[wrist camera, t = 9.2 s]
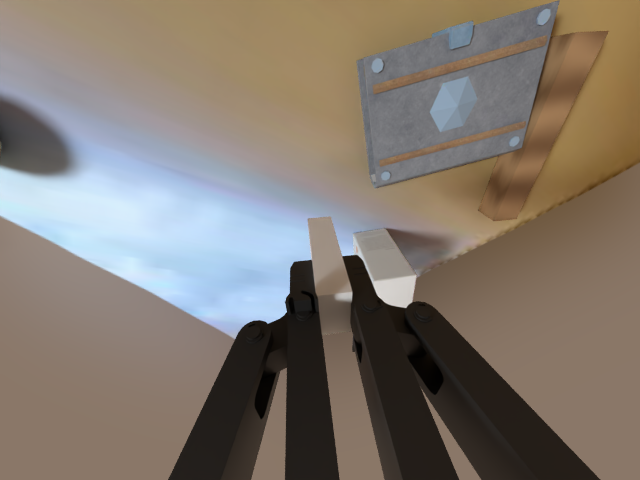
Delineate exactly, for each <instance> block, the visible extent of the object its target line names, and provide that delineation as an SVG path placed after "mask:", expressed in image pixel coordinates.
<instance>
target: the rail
mask: <svg viewBox="0 0 640 480" xmlns="http://www.w3.org/2000/svg"><path fill="white" fill-rule="evenodd" d="M608 32H609V31H596V32H576V33H570V34H565V35H560V36H555V37H550V40H549V44H548V48H547V51H546V55H545V59H544V63H543V67H542V71H541V75H540V79H539V83H538V86H537V90H536V94H535V98H534V102H533V106H532V110H531V114H530V118H529V121H528V125H527V129H526V133H525V137H524V141H523V145H522V148H520V149H518V150H516V151H514V152H511V153H507V154H503V155H500V156H499V157H498V160H497V162H496V165H495V168H494V170H493V173H492V175H491V178H490V181H489V183H488V186H487V189H486V191H485V194H484V197H483V199H482V202H481V205H480V207H479V210H478V211H480V212H481V213H483V214H484V215H486V216H487V217H489V218H490V219H492V220H493V221H501V220H511V219H517V217H518V215H519V213H520V211H521V208H522V206H523V204H524V202H525V200H526V198H527V196H528V194H529V192H530V190H531V188H532V186H533V184H534V182H535V180H536V178H537V176H538V174H539V172H540V170H541V168H542V166H543V164H544V162H545V160H546V158H547V156H548V154H549V152H550V150H551V148H552V146H553V144H554V142H555V140H556V138H557V135H558V133H559V131H560V129H561V127H562V125H563V123H564V121H565V119H566V117H567V115H568V113H569V111H570V109H571V107H572V105H573V103H574V101H575V99H576V97H577V95H578V93H579V91H580V89H581V87H582V85H583V83H584V81H585V79H586V77H587V75H588V73H589V71H590V69H591V67H592V64H593V62H594V60H595V58H596V56H597V54H598V52H599V50H600V48H601V46H602V44H603V42H604V40H605V38H606V36H607V34H608Z"/></svg>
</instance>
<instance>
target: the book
mask: <svg viewBox="0 0 640 480" xmlns="http://www.w3.org/2000/svg"><path fill="white" fill-rule="evenodd" d="M559 1H560V0H559ZM559 1H555V2H552V3H548V4H545V5H542V6H538V7H535V8H531V9H528V10H525V11H521V12H518V13H514V14H511V15H508V16H504V17H501V18H497V19H494V20H491V21H487V22H484V23H480V24H477V25H474V26H473V21H470V22H466V23H463V24H460V25H456V26H453V27H450V28H447V29H444V30H442V31H439V32H436V33H434V34H432V38H429V39H426V40H423V41H419V42H416V43H412V44H409V45H406V46H402V47H399V48H395V49H392V50H389V51H385V52H382V53H378V54H375V55H372V56H368V57H365V58H364V59H361V60H357V69H358V78H359V86H360V95H361V104H362V112H363V121H364V130H365V138H366V147H367V155H368V164H369V173H370V179H371V182H372V184H373V186H374V188H379V187H382V186H386V185H390V184H394V183H398V182H401V181H405V180H409V179H413V178H416V177H420V176H424V175H428V174H432V173H435V172H439V171H443V170H447V169H450V168H454V167H458V166H462V165H466V164H469V163H473V162H477V161H481V160H484V159H488V158H492V157H496V156H500V155H503V154H507V153H511V152H514V151H516V150H518V149H520V148H522V145H523V141H524V137H525V133H526V129H527V125H528V121H529V118H530V114H531V110H532V106H533V102H534V98H535V94H536V90H537V86H538V83H539V79H540V75H541V71H542V67H543V63H544V59H545V55H546V51H547V48H548V44H549V40H550V36H551V32H552V28H553V24H554V20H555V16H556V13H557V9H558V5H559Z"/></svg>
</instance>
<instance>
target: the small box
mask: <svg viewBox="0 0 640 480" xmlns="http://www.w3.org/2000/svg"><path fill="white" fill-rule="evenodd" d="M353 250H354V255H358V256H359V257H360V258H361V259H362V260H363V261H364V264H365V266H366V269H367V271H368V274H369V276H370V279H371V281H372V284H373V286H374V289H375V291H376V294H377V295H378V297H379V298H381V299H382V300H383V301H384V302H385V303H387V304H389V305H392V306H397V307H403V308H407V306H408V305H409V304H410V303H412V302H413V295H414V290H415V283H416V278H417V274H416V273H415V272H414V270H413V269H412V267H411V266H410V264H409V263H408V261H407V260H406V258H405V257H404V255H403V254H402V252H401V251H400V249H399V248H398V246H397V245H396V243H395V242H394V240H393V239H392V237H391V236H390V234H389V233H388V231H387V230H386V229H385V228H383V229H377V230H371V231H364V232H358V233H353Z"/></svg>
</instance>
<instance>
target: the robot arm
mask: <svg viewBox="0 0 640 480" xmlns="http://www.w3.org/2000/svg"><path fill="white" fill-rule="evenodd" d="M308 228H309V239H310V250H311V260H308V261H298V262H294V263H293V265H292V266H291V268H290V294H289V295H288V296H287V298H286V301H285V304H286V309H287V313H286V314H285V315H284V316H283V317H282V318H280V319H278V320H276V321H274V322H271V323H269V324H267V323H266V322H264V321H261V320H258V321H252V322H250V323H247V324H246V325H245V326H244V327H242V329H241V330H240V331H239V333H238V335H237V337H236V339H235V341H234V343H233V345H232V347H231V350H230V352H229V354H228V356H227V358H226V360H225V362H224V364H223V366H222V368H221V370H220V372H219V375H218V377H217V379H216V381H215V383H214V385H213V387H212V389H211V392H210V393H209V395H208V398H207V400H206V402H205V404H204V406H203V408H202V410H201V412H200V414H199V416H198V418H197V421H196V423H195V425H194V427H193V429H192V431H191V433H190V435H189V437H188V439H187V442H186V444H185V446H184V448H183V450H182V452H181V454H180V456H179V459H178V460H177V463H176V465H175V467H174V469H173V471H172V473H171V475H170V477H169V479H168V480H251V477H252V474H253V470H254V466H255V462H256V459H257V455H258V451H259V447H260V444H261V440H262V437H263V433H264V429H265V425H266V422H267V418H268V414H269V411H270V407H271V403H272V400H273V396H274V392H275V389H276V385H277V381H278V377H279V374H280V371H281V370H283V369H285V368H287V398H286V458H285V480H339V472H338V463H337V455H336V447H335V439H334V431H333V423H332V415H331V406H330V397H329V389H328V381H327V373H326V365H325V356H324V348H323V339H322V335H326V334H333V333H342V332H350V331H351V328H352V332H353V347H352V350H353V352H355V353H356V357H357V362H358V366H359V371H360V375H361V379H362V383H363V387H364V392H365V397H366V401H367V405H368V409H369V414H370V418H371V423H372V427H373V431H374V435H375V440H376V444H377V448H378V453H379V457H380V461H381V466H382V470H383V474H384V479H385V480H459V478H458V476H457V474H456V471H455V469H454V466H453V464H452V462H451V459H450V457H449V454H448V452H447V450H446V447H445V445H444V442H443V440H442V438H441V435H440V433H439V431H438V428H437V426H436V424H435V421H434V419H433V416H432V414H431V412H430V409H429V407H428V405H427V402H426V400H425V398H424V395H423V393H422V390H423V392H424V393H425V394H426V396H427V398H428V399H429V401H430V402H431V404H432V405H433V407H434V408H435V410H436V411H437V413H438V414H439V416H440V417H441V419H442V420H443V422H444V423H445V425H446V426H447V428H448V429H449V431H450V433H451V434H452V435H453V437H454V439H455V440H456V442H457V443H458V445H459V446H460V448H461V449H462V450H463V452H464V454H465V455H466V457H467V458H468V460H469V461H470V463H471V464H472V466H473V467H474V469H475V470H476V472H477V474H478V475H479V477H480V478H481V480H600V479H599V478H598V477H597V476H596V475H595V474H594V473H593V472H592V471H591V470H590V469H589V467H588V466H586V464H585V463H584V462H583V461H582V460H581V459H580V458H579V457H578V456H577V455H576V454H575V453H574V452H573V451H572V450H571V449H570V448H569V447H568V446H567V445H566V444H565V443H564V442H563V441H562V439H561V438H560V437H559V436H558V435H557V434H556V433H555V432H554V431H553V430H552V429H551V428H550V427H549V426H548V425H547V424H546V423H545V422H544V421H543V420H542V419H541V418H540V417H539V416H538V415H537V414H536V412H535V411H534V410H533V409H532V408H531V407H530V406H529V405H528V404H527V403H526V402H525V401H524V400H523V399H522V398H521V397H520V396H519V395H518V394H517V393H516V392H515V391H514V390H513V389H512V388H511V387H510V385H509V384H508V383H507V382H506V381H505V380H504V379H503V378H502V377H501V376H500V375H499V374H498V373H497V372H496V371H495V370H494V369H493V368H492V367H491V366H490V365H489V364H488V363H487V362H486V361H485V359H484V358H482V356H481V355H480V354H479V353H478V352H477V351H476V350H475V349H474V348H473V347H472V346H471V345H470V344H469V343H468V342H467V341H466V340H465V339H464V338H463V337H462V336H461V335H460V334H459V333H458V331H457V330H456V329H455V328H454V327H453V326H452V325H451V324H450V323H449V322H448V321H447V320H446V319H445V318H444V317H443V316H442V315H441V314H440V313H439V312H438V311H437V310H436V309H435V308H434V307H433V306H431V305H429V304H427V303H425V302H419V301H418V302H412V303H410V304H409V305H408V306H407V308H403V307H397V306H392V305H389V304H387V303H385V302H384V301H383V300H382V299H381V298H379V297H378V295H377V294H376V291H375V289H374V286H373V284H372V281H371V279H370V276H369V274H368V271H367V269H366V266H365V264H364V261H363V260H362V259H361V258H360V257H359V256H358V255H351V256H342V254H341V251H340V247H339V244H338V240H337V237H336V233H335V230H334V226H333V223H332V220H331V217H320V218H309V219H308ZM420 387H421V388H420ZM421 389H422V390H421Z"/></svg>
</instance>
